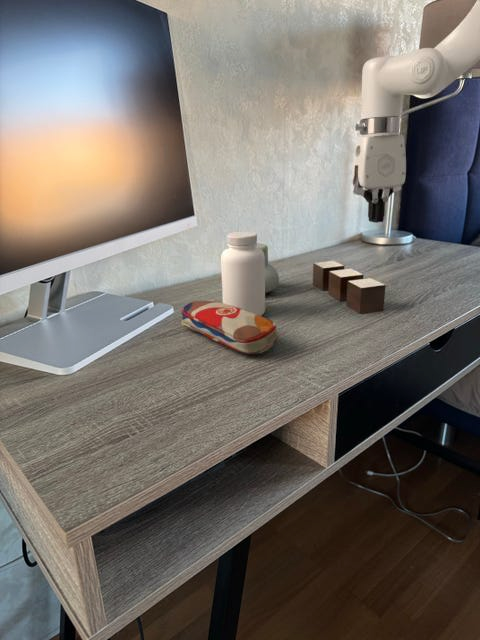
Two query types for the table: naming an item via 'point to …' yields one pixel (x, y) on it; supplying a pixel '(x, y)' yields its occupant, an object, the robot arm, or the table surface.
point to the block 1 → (324, 273)
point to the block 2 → (365, 295)
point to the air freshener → (269, 271)
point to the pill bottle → (243, 273)
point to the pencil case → (230, 326)
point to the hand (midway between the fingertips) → (375, 221)
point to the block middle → (341, 282)
